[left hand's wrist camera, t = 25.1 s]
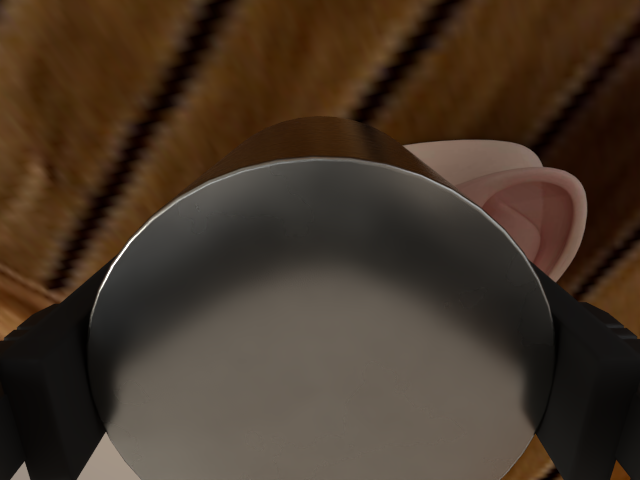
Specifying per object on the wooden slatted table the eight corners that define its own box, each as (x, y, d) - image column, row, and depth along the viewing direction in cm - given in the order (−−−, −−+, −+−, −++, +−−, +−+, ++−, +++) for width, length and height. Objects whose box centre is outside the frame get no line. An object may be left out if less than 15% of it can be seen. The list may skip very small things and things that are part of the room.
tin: (452, 112, 14) (601, 148, 7) (434, 344, 18) (523, 547, 10) (182, 119, 15) (30, 163, 7) (212, 349, 18) (130, 554, 10)
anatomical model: (290, 362, 22) (311, 129, 18) (294, 322, 26) (312, 122, 22) (548, 383, 22) (620, 159, 19) (515, 340, 26) (569, 147, 22)
